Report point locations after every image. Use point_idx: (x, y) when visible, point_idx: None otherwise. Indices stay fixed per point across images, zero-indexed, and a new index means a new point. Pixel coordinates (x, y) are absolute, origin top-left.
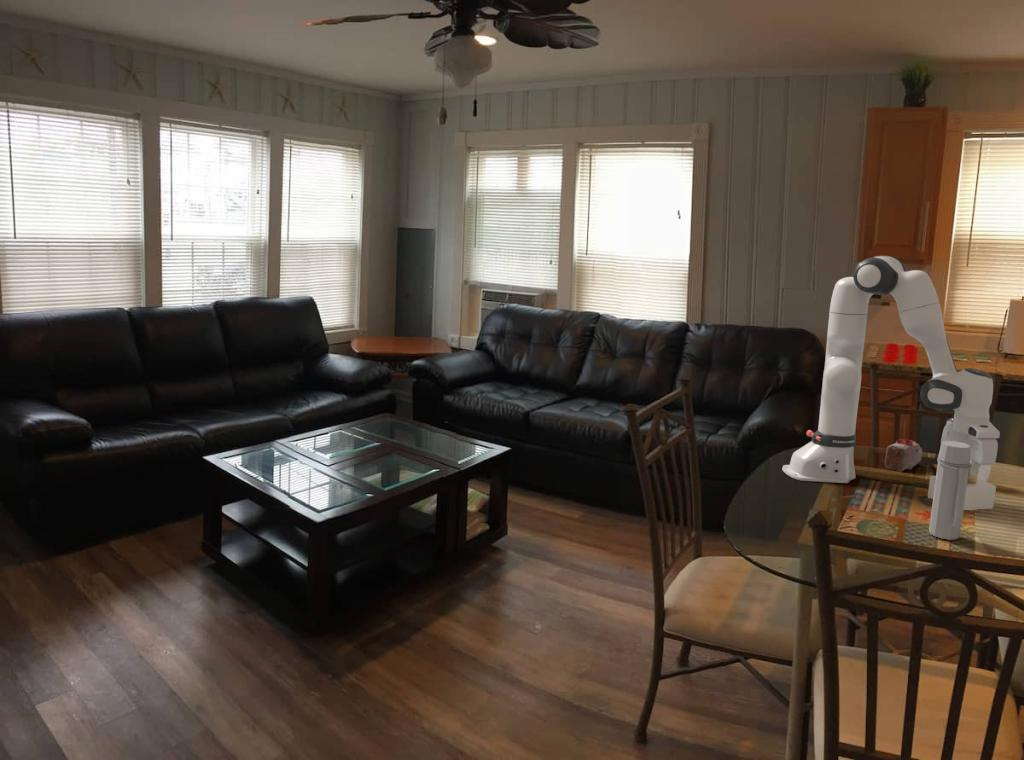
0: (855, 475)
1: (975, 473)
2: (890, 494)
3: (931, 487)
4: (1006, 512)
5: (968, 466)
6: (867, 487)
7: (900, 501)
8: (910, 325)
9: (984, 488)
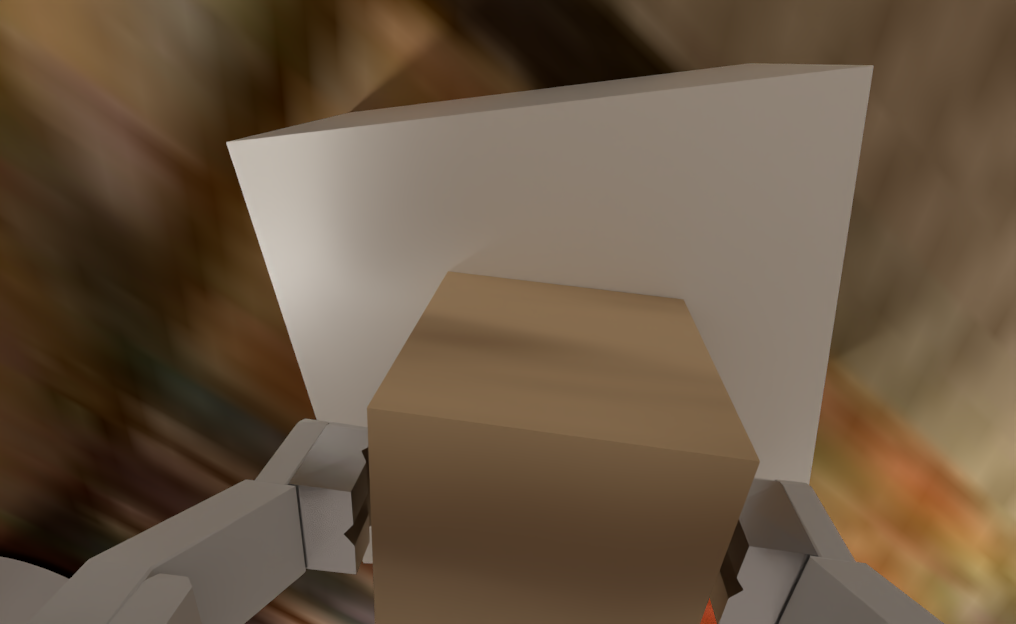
0: (57, 584)
1: (811, 512)
2: (362, 579)
3: None
4: (896, 6)
5: (667, 597)
6: None
7: None
8: None
9: (831, 286)
